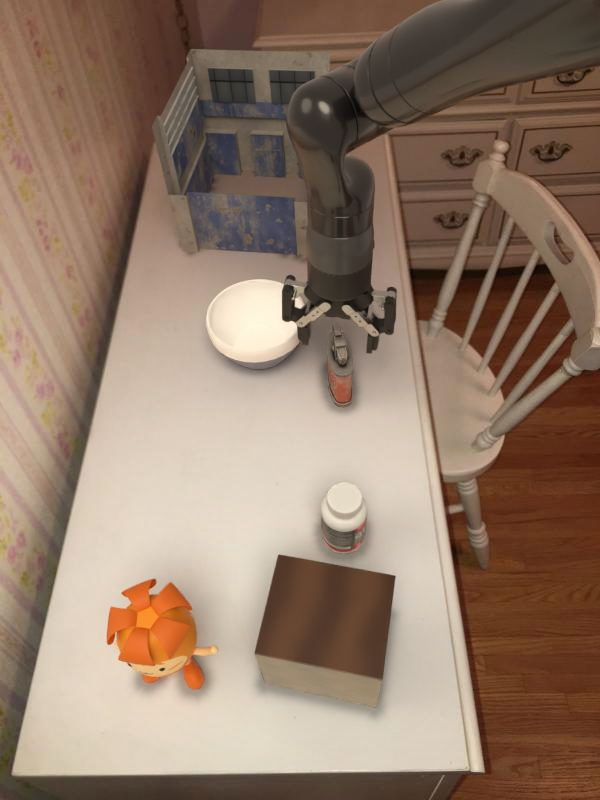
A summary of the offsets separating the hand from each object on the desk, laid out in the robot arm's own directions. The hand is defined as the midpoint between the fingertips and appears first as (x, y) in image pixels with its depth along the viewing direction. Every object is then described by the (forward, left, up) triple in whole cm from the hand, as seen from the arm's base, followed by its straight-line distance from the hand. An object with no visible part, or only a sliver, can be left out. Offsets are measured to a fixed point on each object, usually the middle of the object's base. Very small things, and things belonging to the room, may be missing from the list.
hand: (338, 344), depth 86 cm
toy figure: (+11, +41, -9) cm, 43 cm away
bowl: (+13, -5, -9) cm, 17 cm away
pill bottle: (-5, +23, -9) cm, 25 cm away
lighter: (0, 0, -9) cm, 9 cm away
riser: (-5, +36, -9) cm, 38 cm away
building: (+21, -37, -9) cm, 44 cm away
